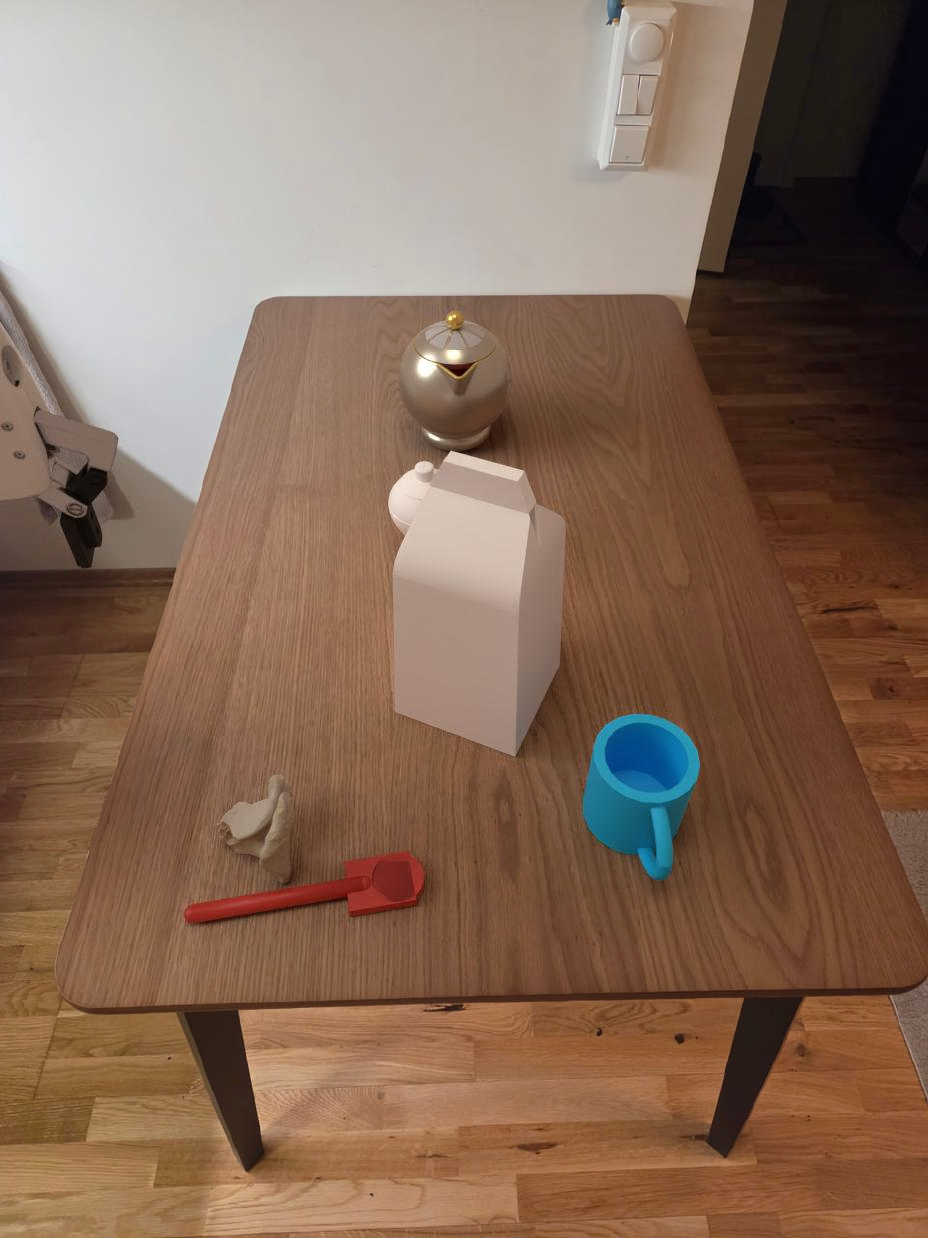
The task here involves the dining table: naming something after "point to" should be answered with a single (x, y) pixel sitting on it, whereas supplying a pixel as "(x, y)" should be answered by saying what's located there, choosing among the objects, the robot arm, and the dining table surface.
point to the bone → (263, 828)
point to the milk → (478, 604)
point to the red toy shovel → (333, 890)
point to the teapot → (455, 382)
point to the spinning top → (410, 494)
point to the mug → (640, 788)
